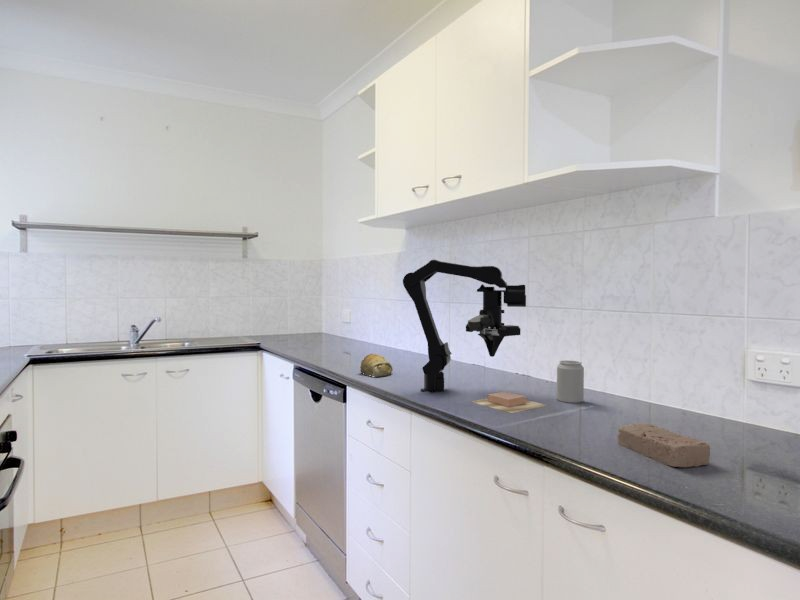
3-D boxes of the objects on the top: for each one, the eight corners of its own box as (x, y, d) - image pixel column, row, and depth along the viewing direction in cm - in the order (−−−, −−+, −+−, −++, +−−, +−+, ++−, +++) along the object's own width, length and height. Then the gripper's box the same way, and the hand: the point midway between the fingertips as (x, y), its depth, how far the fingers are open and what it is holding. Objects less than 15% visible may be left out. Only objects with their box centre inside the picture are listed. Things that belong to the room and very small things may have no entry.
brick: (615, 444, 109) (615, 422, 108) (647, 441, 111) (647, 420, 111) (676, 472, 93) (676, 447, 93) (712, 467, 95) (712, 443, 95)
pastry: (364, 371, 201) (364, 351, 201) (395, 372, 199) (395, 351, 198) (355, 377, 187) (355, 356, 187) (388, 378, 185) (388, 356, 185)
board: (470, 403, 145) (470, 401, 145) (506, 397, 153) (506, 395, 153) (511, 415, 132) (511, 413, 132) (549, 407, 140) (549, 405, 140)
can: (585, 405, 142) (586, 363, 142) (558, 404, 144) (558, 362, 143) (581, 399, 150) (581, 359, 149) (555, 398, 151) (555, 359, 151)
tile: (488, 394, 144) (508, 399, 138) (505, 391, 148) (525, 396, 142) (487, 401, 144) (508, 407, 138) (505, 398, 148) (525, 403, 142)
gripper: (452, 306, 159) (452, 355, 159) (495, 308, 143) (494, 362, 144) (478, 305, 165) (478, 352, 166) (521, 307, 150) (521, 359, 150)
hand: (491, 356), depth 156 cm, fingers closed
